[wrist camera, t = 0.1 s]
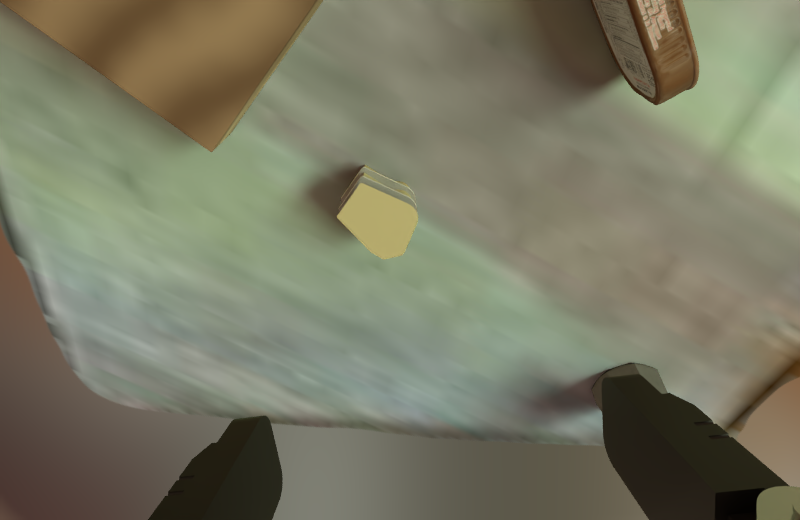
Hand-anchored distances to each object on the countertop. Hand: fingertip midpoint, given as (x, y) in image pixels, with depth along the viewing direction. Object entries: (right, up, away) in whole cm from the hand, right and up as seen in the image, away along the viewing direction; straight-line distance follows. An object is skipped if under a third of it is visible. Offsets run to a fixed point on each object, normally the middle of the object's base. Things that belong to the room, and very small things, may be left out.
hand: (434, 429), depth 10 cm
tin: (+15, +24, +22) cm, 36 cm away
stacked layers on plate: (-3, +10, +31) cm, 33 cm away
